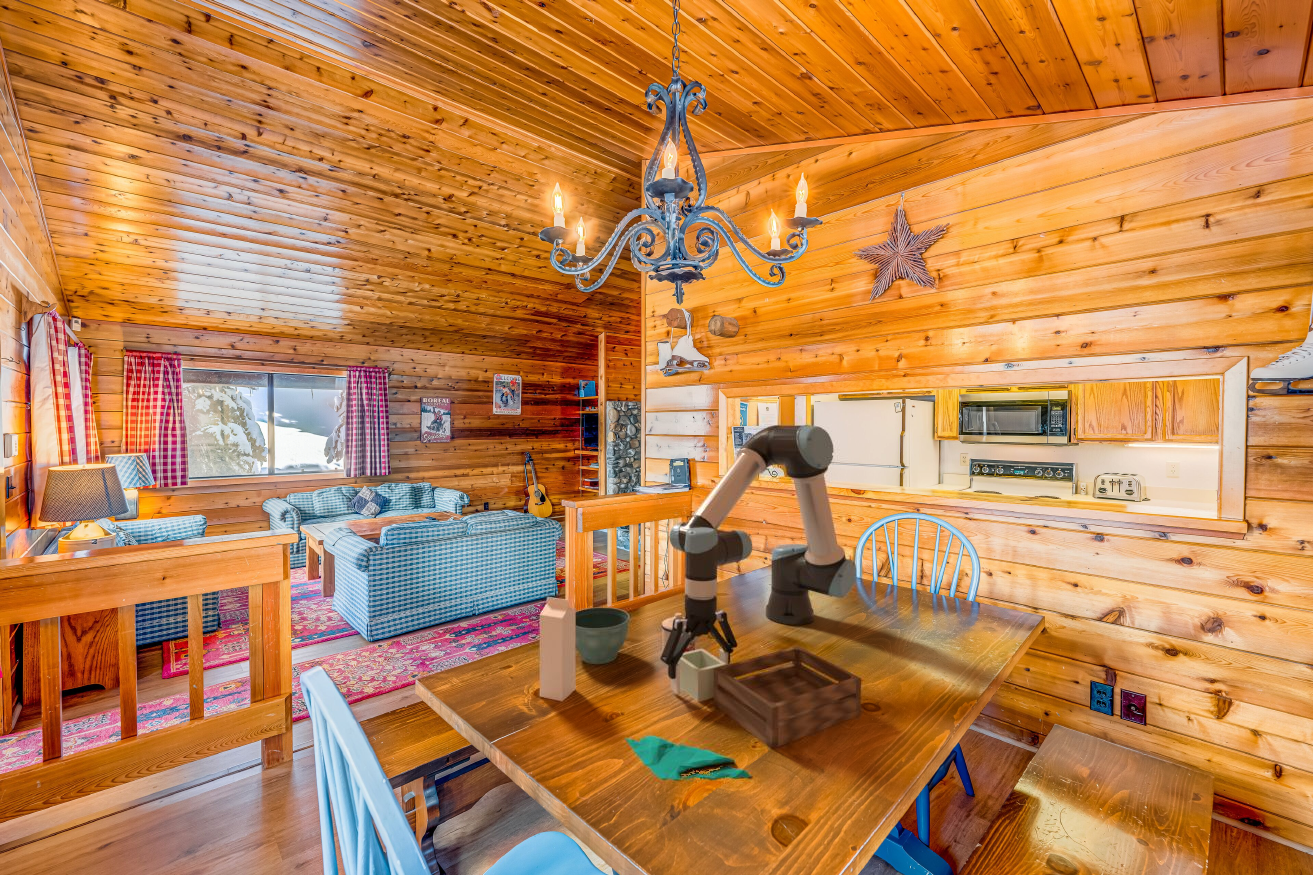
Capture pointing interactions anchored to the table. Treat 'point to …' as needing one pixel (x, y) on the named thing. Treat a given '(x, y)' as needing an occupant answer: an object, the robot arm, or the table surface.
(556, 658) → the milk
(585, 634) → the flower pot
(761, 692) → the crate
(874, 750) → the table surface
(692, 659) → the small crate
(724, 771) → the cloth
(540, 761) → the table surface
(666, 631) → the teacup with lid
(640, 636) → the table surface
